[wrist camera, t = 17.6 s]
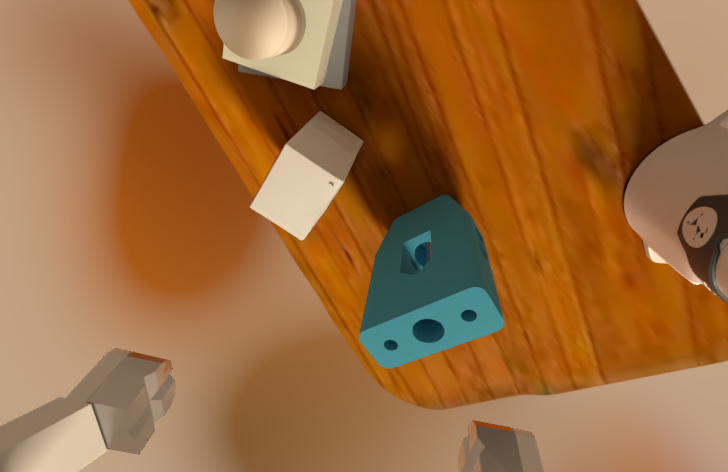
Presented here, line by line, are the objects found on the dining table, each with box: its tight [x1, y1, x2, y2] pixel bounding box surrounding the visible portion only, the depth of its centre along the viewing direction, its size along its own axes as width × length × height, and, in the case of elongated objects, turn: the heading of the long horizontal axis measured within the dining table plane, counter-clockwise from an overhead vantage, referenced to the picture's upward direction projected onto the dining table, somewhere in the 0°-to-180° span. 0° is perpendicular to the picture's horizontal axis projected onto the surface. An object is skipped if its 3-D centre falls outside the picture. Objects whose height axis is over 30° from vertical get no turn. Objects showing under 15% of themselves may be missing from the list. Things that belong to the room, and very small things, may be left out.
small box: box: [250, 111, 364, 240], centre depth 43 cm, size 8×6×13 cm
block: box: [359, 195, 504, 368], centre depth 43 cm, size 12×5×20 cm, turn 124°
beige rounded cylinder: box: [213, 0, 306, 60], centre depth 32 cm, size 6×6×6 cm
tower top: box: [222, 0, 343, 90], centre depth 37 cm, size 9×9×4 cm
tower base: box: [238, 0, 357, 90], centre depth 40 cm, size 11×11×4 cm
